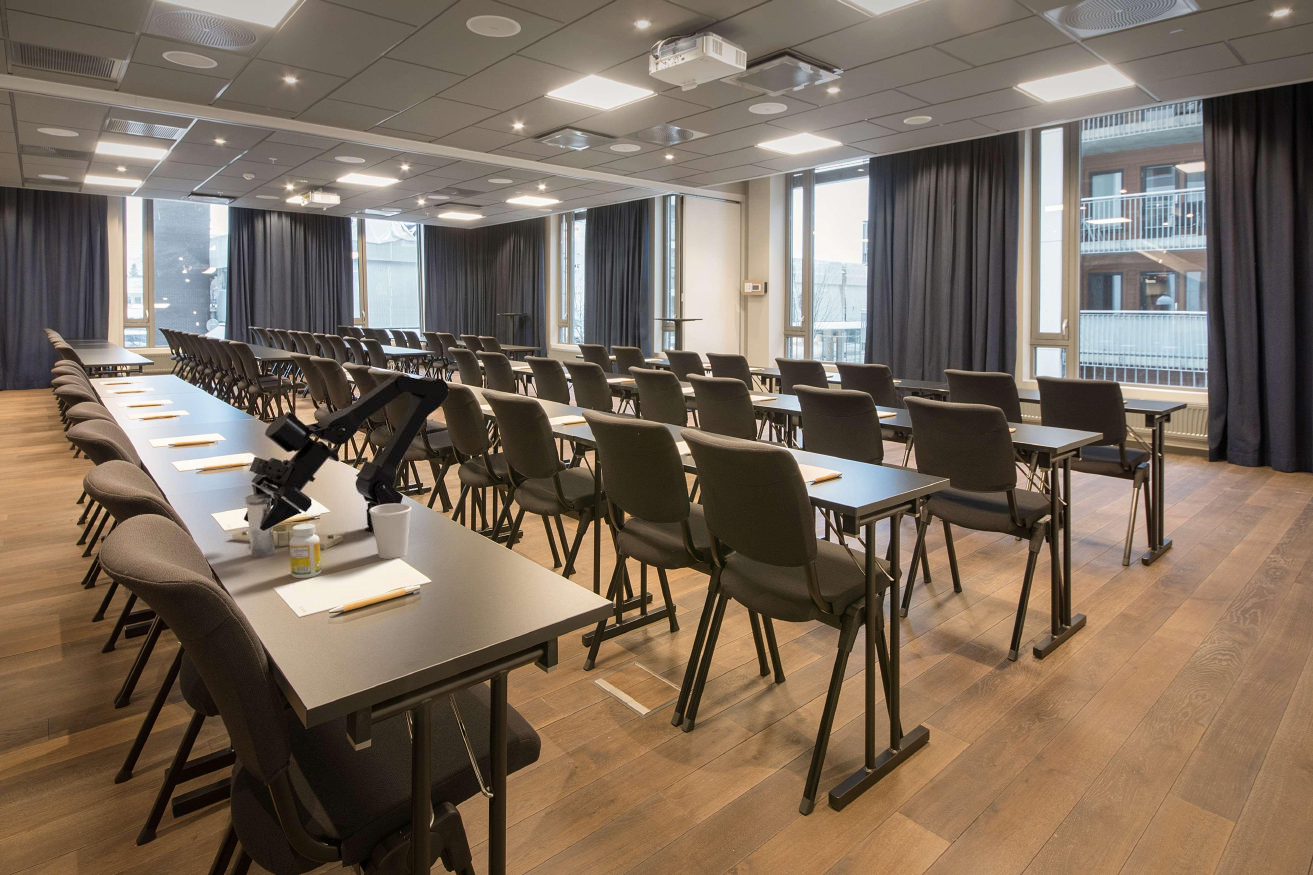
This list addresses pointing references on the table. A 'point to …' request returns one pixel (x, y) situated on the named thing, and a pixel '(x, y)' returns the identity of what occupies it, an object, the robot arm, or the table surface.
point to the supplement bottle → (305, 551)
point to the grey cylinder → (256, 514)
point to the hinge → (290, 536)
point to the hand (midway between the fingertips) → (253, 525)
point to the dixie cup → (391, 529)
